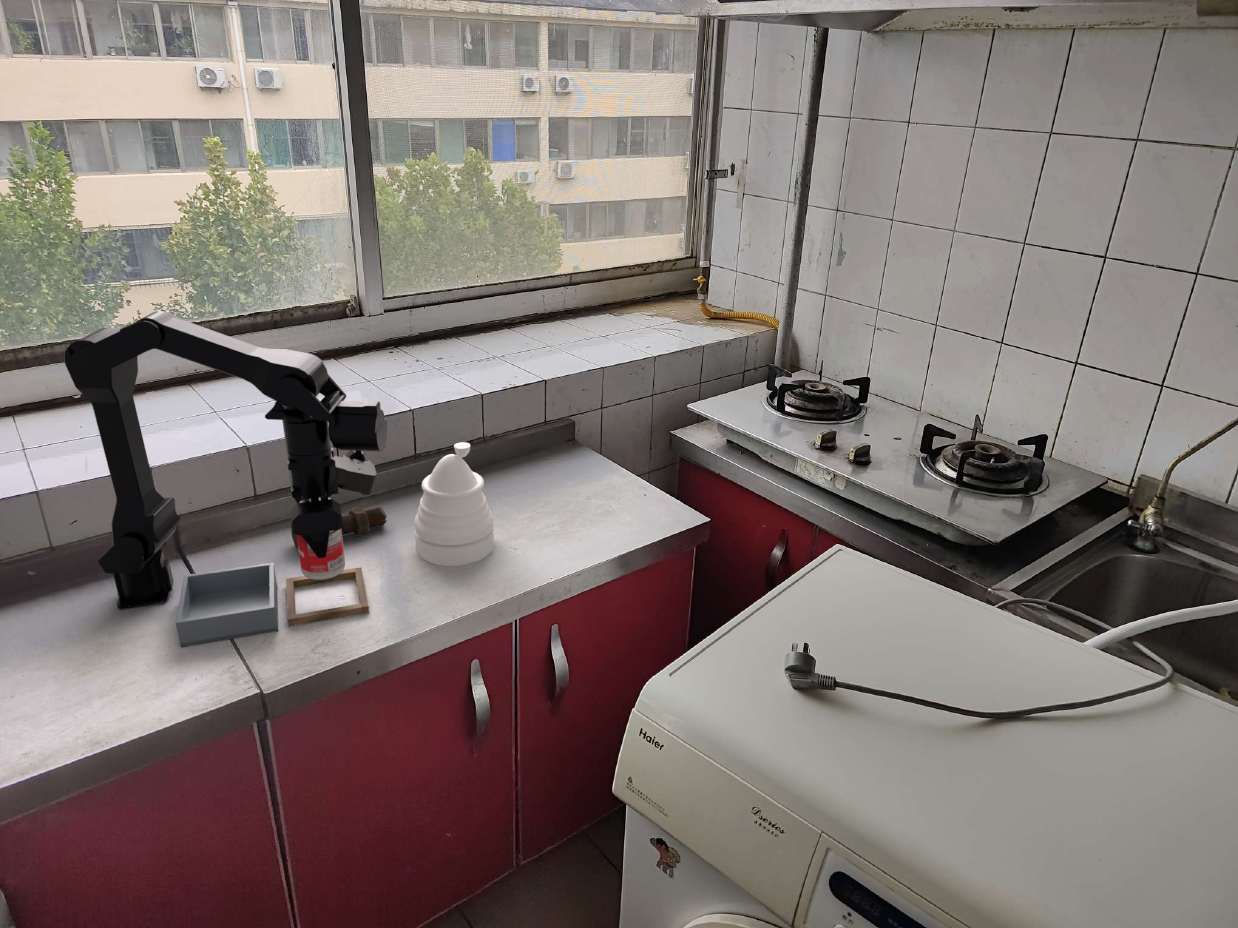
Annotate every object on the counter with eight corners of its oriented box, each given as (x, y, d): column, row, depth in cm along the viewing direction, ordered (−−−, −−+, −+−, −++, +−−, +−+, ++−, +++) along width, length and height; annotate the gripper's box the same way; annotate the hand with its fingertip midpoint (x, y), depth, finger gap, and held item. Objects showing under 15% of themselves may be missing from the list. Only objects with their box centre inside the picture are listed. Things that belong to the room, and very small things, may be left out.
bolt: (386, 536, 144) (299, 559, 135) (375, 513, 146) (289, 535, 138) (392, 517, 140) (303, 539, 131) (380, 494, 142) (292, 514, 133)
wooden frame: (288, 626, 117) (287, 619, 116) (287, 585, 126) (286, 578, 125) (369, 612, 121) (368, 606, 120) (362, 573, 130) (361, 567, 129)
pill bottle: (305, 559, 123) (296, 493, 119) (348, 557, 124) (341, 492, 120) (297, 582, 118) (288, 514, 113) (342, 580, 119) (334, 512, 114)
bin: (181, 647, 112) (175, 622, 110) (188, 598, 122) (183, 575, 120) (278, 630, 116) (274, 607, 114) (277, 584, 126) (273, 562, 124)
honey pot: (474, 520, 147) (471, 426, 139) (506, 553, 137) (505, 454, 130) (404, 537, 140) (397, 440, 133) (433, 573, 131) (427, 471, 123)
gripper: (377, 469, 108) (385, 570, 114) (363, 417, 123) (371, 509, 130) (285, 479, 104) (300, 583, 111) (283, 424, 120) (296, 519, 126)
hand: (320, 546), depth 119 cm, fingers closed on pill bottle, 6 cm apart
